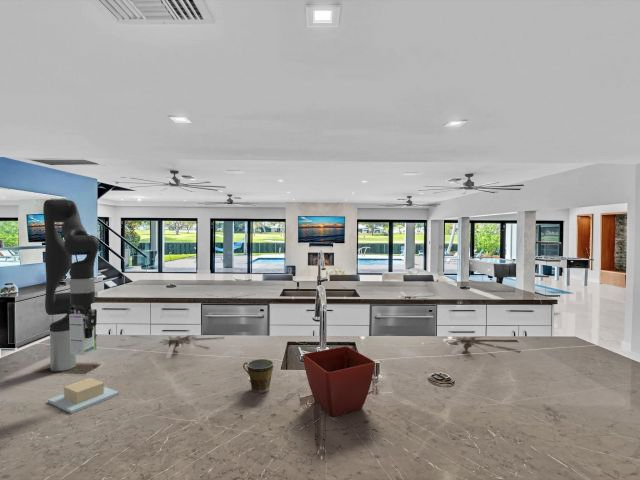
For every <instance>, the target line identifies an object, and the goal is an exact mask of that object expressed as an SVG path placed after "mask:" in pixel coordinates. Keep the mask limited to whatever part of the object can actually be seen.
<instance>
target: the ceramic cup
mask: <svg viewBox="0 0 640 480" xmlns="http://www.w3.org/2000/svg"><path fill="white" fill-rule="evenodd" d="M245 365H246V367H245ZM242 367H243V370H245V372H246V373H247V374H248V376H249V380H250V388H251V390H252V391H251V392H253V393H257V394H261V393H267V391H269V390H270V387H271V381H272V380H271V379H272V375H273V370H274V362H273V361H272V360H270V359H266V358H258V359H257V358H256V359H253V360H250V361H248V362H247V361H246V362H244V363H243V364H242ZM246 368H247V369H246Z"/></svg>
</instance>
